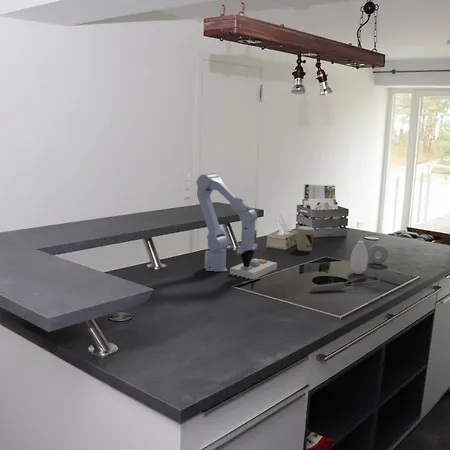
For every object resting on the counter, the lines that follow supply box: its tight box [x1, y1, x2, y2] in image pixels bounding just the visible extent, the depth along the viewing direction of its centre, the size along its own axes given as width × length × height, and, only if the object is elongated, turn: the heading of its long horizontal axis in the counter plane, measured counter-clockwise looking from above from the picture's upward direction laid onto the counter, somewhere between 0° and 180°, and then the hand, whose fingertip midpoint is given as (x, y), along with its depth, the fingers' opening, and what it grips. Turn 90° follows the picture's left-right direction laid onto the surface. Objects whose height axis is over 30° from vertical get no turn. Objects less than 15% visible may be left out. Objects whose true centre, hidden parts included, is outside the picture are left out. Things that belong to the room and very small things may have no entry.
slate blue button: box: [249, 259, 260, 267], centre depth 247 cm, size 4×4×3 cm
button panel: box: [229, 258, 278, 280], centre depth 248 cm, size 22×12×3 cm, turn 147°
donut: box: [367, 243, 389, 265], centre depth 269 cm, size 10×3×10 cm, turn 65°
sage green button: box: [241, 266, 252, 270], centre depth 242 cm, size 4×4×3 cm
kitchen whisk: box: [306, 273, 381, 294], centre depth 226 cm, size 6×34×6 cm, turn 108°
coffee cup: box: [296, 225, 316, 252], centre depth 293 cm, size 9×9×12 cm
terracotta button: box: [257, 258, 268, 264], centre depth 253 cm, size 4×4×3 cm
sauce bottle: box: [349, 236, 369, 275], centre depth 250 cm, size 8×8×18 cm
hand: (246, 266), depth 241 cm, fingers closed, pressing on sage green button
